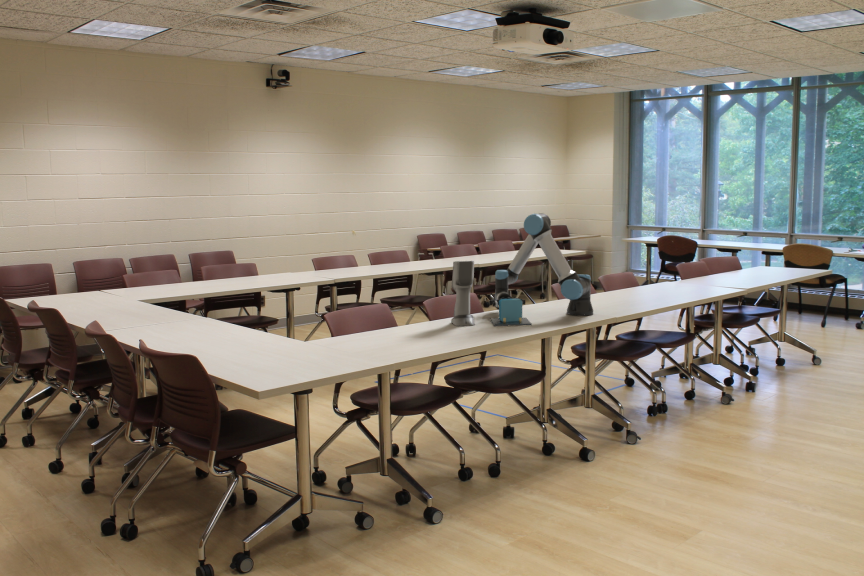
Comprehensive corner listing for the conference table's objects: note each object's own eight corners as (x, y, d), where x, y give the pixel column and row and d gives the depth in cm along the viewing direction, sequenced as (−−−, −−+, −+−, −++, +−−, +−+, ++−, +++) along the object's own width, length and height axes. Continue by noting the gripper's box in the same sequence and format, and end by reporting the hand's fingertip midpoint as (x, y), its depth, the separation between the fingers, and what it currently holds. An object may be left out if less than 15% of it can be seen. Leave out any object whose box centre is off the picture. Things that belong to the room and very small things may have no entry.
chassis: (526, 319, 408) (526, 312, 408) (531, 325, 390) (531, 318, 389) (490, 320, 408) (490, 313, 407) (494, 326, 389) (494, 318, 388)
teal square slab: (520, 319, 401) (520, 298, 400) (522, 321, 397) (522, 299, 395) (498, 320, 399) (498, 299, 398) (500, 322, 395) (500, 300, 393)
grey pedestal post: (455, 326, 389) (454, 261, 385) (450, 322, 402) (449, 259, 397) (476, 325, 391) (476, 260, 387) (470, 321, 404) (470, 258, 399)
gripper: (525, 305, 422) (531, 310, 401) (482, 305, 421) (486, 311, 400) (525, 292, 421) (532, 297, 400) (482, 293, 420) (486, 298, 399)
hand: (509, 304), depth 400 cm, fingers open, 13 cm apart
